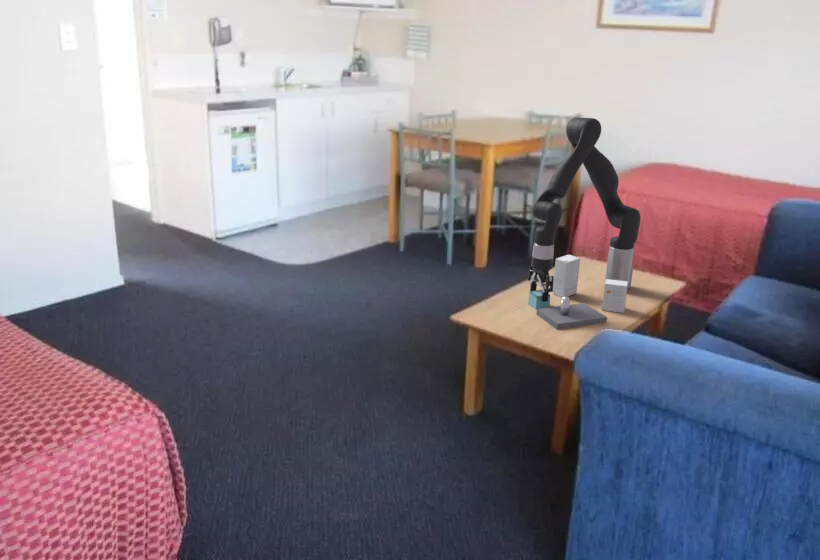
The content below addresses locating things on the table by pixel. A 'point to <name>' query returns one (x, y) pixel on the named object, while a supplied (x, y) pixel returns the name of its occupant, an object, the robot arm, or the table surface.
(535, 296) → the teal cube
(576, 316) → the board
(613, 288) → the small box
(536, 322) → the table surface
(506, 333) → the table surface
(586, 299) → the table surface
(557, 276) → the skincare box
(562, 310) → the post
